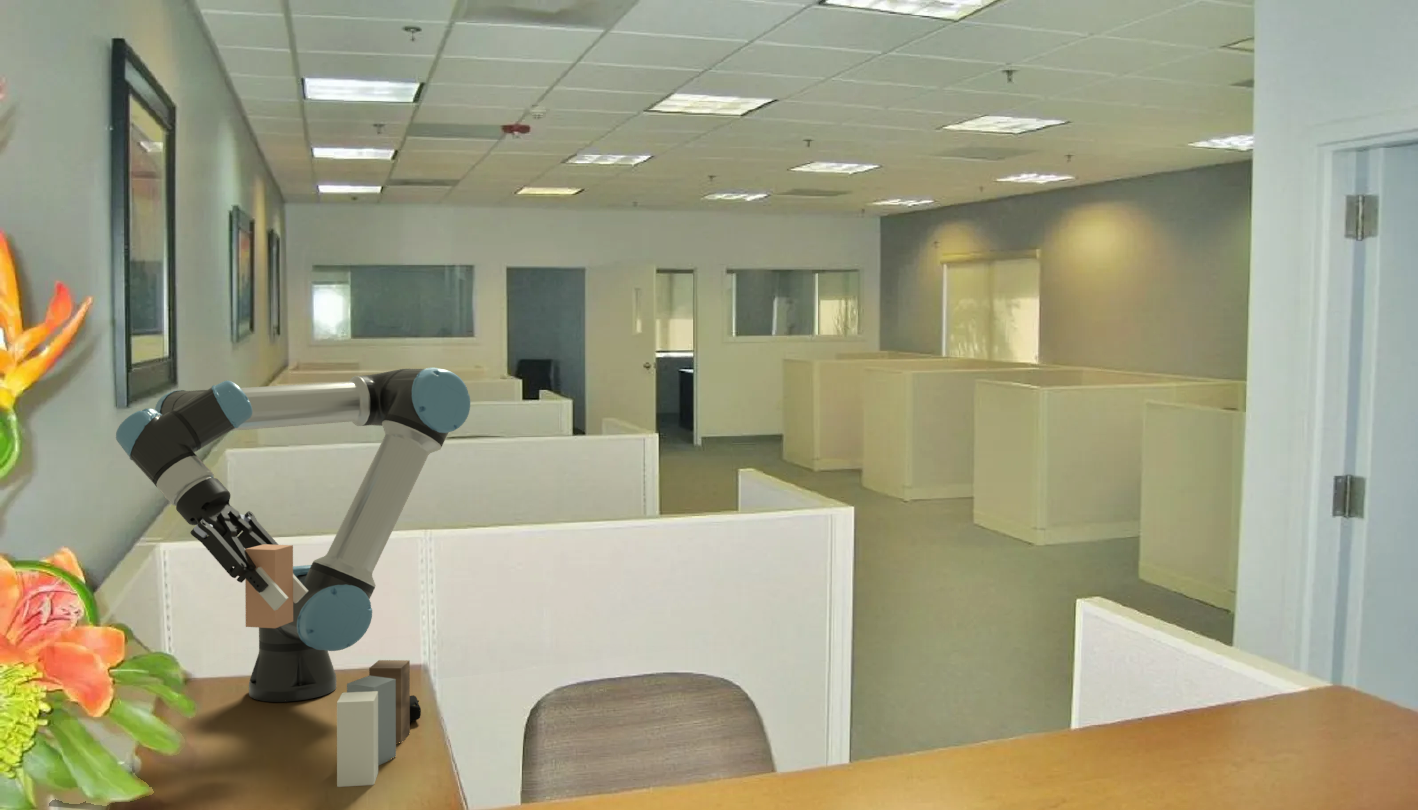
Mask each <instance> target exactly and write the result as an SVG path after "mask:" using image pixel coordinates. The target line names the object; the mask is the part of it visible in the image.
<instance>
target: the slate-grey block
mask: <svg viewBox="0 0 1418 810" xmlns="http://www.w3.org/2000/svg"><path fill="white" fill-rule="evenodd" d="M370 691H378V767H379V766H381V765H383V764H385V763H387V762H389V761H391V760H392V759H391V758H393V757H395V756H396V757H397V744H396V679H392V678H384V677H376V676H369V675H367V676H365V677H362V678H359V679H356V680H352V681H351V682H347V683H346V692H370ZM396 757H395V758H396ZM390 759H391V760H390ZM393 759H394V758H393ZM388 760H389V761H388Z"/></svg>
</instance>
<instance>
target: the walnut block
mask: <svg viewBox="0 0 1418 810" xmlns="http://www.w3.org/2000/svg"><path fill="white" fill-rule="evenodd" d="M410 663H411V662H410V660H409V659H408V660H407V659H401V660H399V659H397V660H395V659H393V660H391V659H389V660H388V659H387V660H386V659H379V660H377V661H376V662H375V663H374V664H373V665H371V666H370V667H369V668H368V670H369V671H368V672H369V675H368V676H376V677H384V678H392V679H396V743H399V742H400V743H401V742H402V741H403V742H404V741H405V740H406V739H407V738H408V737H409V735H410V734H411V731H410V730H411V729H410V728H411V725H410V723H411V721H410V696H411V695H410V694H411V691H410V690H411V689H410V688H411V687H410V685H411V684H410V683H411V682H410V678H411V675H410V668H411V667H410ZM409 733H410V734H409ZM406 737H407V738H406ZM405 738H406V739H405ZM403 742H402V743H403ZM402 743H401V744H402Z"/></svg>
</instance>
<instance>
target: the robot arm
mask: <svg viewBox="0 0 1418 810" xmlns="http://www.w3.org/2000/svg"><path fill="white" fill-rule="evenodd" d="M470 411H471V396H470V394H469V390H468V386H466V383H465V382H464V381H463V379H462V378H461V377H460V376H459V375H457V374H456V373H455V372H452V371H450V370H448V369H444V368H439V367H426V368H399V369H395V370H389V371H385V372H384V371H383V372H380V373H373V374H365V375H353V376H352V377H351V378H350V379H349V380H348V381H337V382H324V383H323V382H322V383H321V382H319V383H304V384H285V385H284V384H283V385H268V386H266V385H265V386H253V387H251V386H249V387H248V386H247V387H240V385H238V384H236V382H233V381H231V380H224V381H222V382H220V383H218V384H216V385H214V384H213V385H212V386H211V387H210V388H208V389H199V390H198V389H197V390H196V389H195V390H183V389H182V390H181V389H179V390H173V391H170V392H168V393H166V394H164V395H162V396H161V397H160V398H159V399H158V401H157V402H156V404H155V407H154V408H152V407H151V408H144V409H142V410H137V411H135V412H133V413H132V414H130V415H129V416H127V417H126V418H125V419H124V420H123V421H121V423H120V424H119V426H118V427H117V430H116V433H115V439H116V441H117V443H118V445H120V447H121V449H123V451H124V452H125V453H126V455H127V457H129V459H130V460H131V461H132V462H133V463H134V464H135V466H137V467H138V468H139V469H140V470H141V471H142V473H144V474H145V476H146V477H147V478H148V479H149V480H150V481H151V482H152V484H153V485H154V486H155V488H157V489H158V490H159V491H160V492H161V493H162V495H163V496H164V498H165V499H166V500H167V501H168V502H169V504H171V505H172V506H174V507H175V509H176V512H177V513H179V515H180V516H181V517H182V518H183V519H184V520H185V521H186V523H187V524H189V525H191V526H194V527H193V529H192V530H190V534H191V536H192V537H194V538H195V539H196V540H198V541H199V542H200V543H201V544H202V545H203V546H204V547H205V548H206V550H207V551H208V552H209V553H210V554H211V555H212V556H213V557H214V559H215V560H216V561H217V562H218V563H219V565H220V566H221V568H223V569H224V570H225V572H226V573H227V574H228V575H229V576H230V577H231V578H233V579H236V578H237V579H236V581H237V582H239V583H243V582H244V581H245V579H247V581H248V582H249V583H250V584H251V585H252V586H253V587H254V588H255V590H256V591H257V592H258V593H259V594H260V595H261V596H262V597H263V598H264V600H265V601H266V602H267V603H268V604H269V605H270V606H271V607H272V609H273V610H274V611H275V610H278V608H279V607H280V606H281V605H282V604H283V603H284V602H285V601H286V600H287V599H288V597H287V595H286V594H285V593H284V592H283V591H282V590H281V589H280V588H279V586H278V585H277V584H276V583H275V582H274V581H273V580H272V579H271V578H270V576H269V575H268V574H267V573H266V572H265V571H264V570H263V569H262V567H258V568H257V569H256V570H255V568H256V566H255V564H254V563H253V561H252V560H251V558H250V557H249V555H248V553H247V552H246V551H245V549H247V548H251V547H255V546H259V545H263V544H270V545H279V543H278V542H277V541H276V540H275V539H274V538H273V537H272V536H271V534H270V533H268V531H267V530H266V529H265V528H264V526H263V525H261V524H260V523H259V521H258V520H257V517H256V516H255V514H254V513H253V512H252V511H246V513H245V514H241V513H240V512H239V511H238V510H237V509H236V508H234V507H233V506H232V505H230V499H231V492H230V491H229V490H228V489H227V488H226V487H225V485H224V484H223V483H222V482H221V481H220V480H219V479H218V478H215V473H213V472H212V471H211V469H210V468H208V467H207V465H206V464H205V463H204V462H203V461H202V459H200V458H199V457H198V456H197V454H196V452H198V451H200V450H201V449H202V448H204V447H206V446H208V445H210V444H211V443H213V442H214V441H217V440H218V439H220V438H221V437H223V436H224V435H226V434H228V433H230V432H234V431H235V432H236V431H247V430H259V429H261V430H262V429H272V428H285V427H298V426H301V427H302V426H311V425H324V424H338V423H349V422H351V423H352V424H354V425H355V426H357V427H363V426H364V427H365V426H366V427H367V426H374V427H375V426H379V427H381V426H382V428H383V431H384V434H385V435H384V437H383V439H382V441H381V443H380V445H379V447H378V449H377V451H376V454H375V455H374V457H373V460H372V462H371V464H370V466H369V468H368V470H367V471H366V473H365V476H364V477H363V480H362V482H361V484H360V486H359V488H358V490H357V491H356V494H355V496H354V497H353V499H352V502H351V504H350V506H349V508H348V510H347V512H346V515H345V517H344V518H343V520H342V522H341V525H340V527H339V528H338V531H337V532H336V534H335V537H334V538H333V541H332V542H331V545H330V547H329V549H328V551H327V553H326V554H325V555H323V556H322V557H319V558H316V559H314V560H313V561H312V563H311V564H305V565H295V566H294V565H293V622H290V623H288V624H285V625H283V626H280V627H277V628H259V627H258V654H257V656H256V659H255V664H254V666H253V670H252V673H251V676H250V679H249V682H248V696H249V697H250V698H252V699H254V700H257V701H262V702H274V703H279V702H280V703H283V702H284V703H286V702H296V701H297V702H299V701H304V700H310V699H314V698H320V697H322V696H326V695H328V694H330V693H332V692H333V691H335V690H336V689H337V673H336V671H335V668H334V665H333V662H332V660H331V656H330V654H329V652H337V651H341V650H345V649H348V648H349V647H351V646H353V645H355V644H356V643H357V642H359V641H360V640H361V639H362V637H364V635H365V634H366V633H367V631H368V630H369V628H370V626H371V622H372V619H373V608H372V602H371V597H372V595H373V593H374V590H375V588H376V587H377V586H376V582H375V579H374V577H373V572H374V570H375V568H376V566H377V564H378V562H379V561H380V558H381V555H382V554H383V551H384V549H385V547H386V545H387V543H388V541H389V539H390V537H391V535H392V532H393V530H394V528H395V526H396V525H397V522H398V520H399V518H400V516H401V513H402V512H403V509H404V507H405V505H406V503H407V502H408V499H409V497H410V495H411V492H412V490H413V489H414V486H415V485H416V482H417V480H418V478H419V476H420V474H421V471H422V469H423V468H424V466H425V463H426V461H427V459H428V457H429V455H431V454H432V453H435V452H438V451H441V449H442V447H443V445H444V443H445V441H446V439H447V437H448V434H449V433H452V432H454V431H456V430H458V429H459V428H461V427H462V426H463V425H464V423H465V422H467V421H466V420H467V419H468V417H469V414H470Z"/></svg>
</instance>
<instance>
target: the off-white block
mask: <svg viewBox="0 0 1418 810" xmlns="http://www.w3.org/2000/svg"><path fill="white" fill-rule="evenodd" d="M378 775H379V766H378V691H370V692H347V691H346V692H342V693H341V694H340V696H339V697H338V700H337V702H336V785H337V786H336V787H337V788H342V787H356V786H357V787H359V786H374V785H375V782H376V780H377V777H378Z"/></svg>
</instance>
